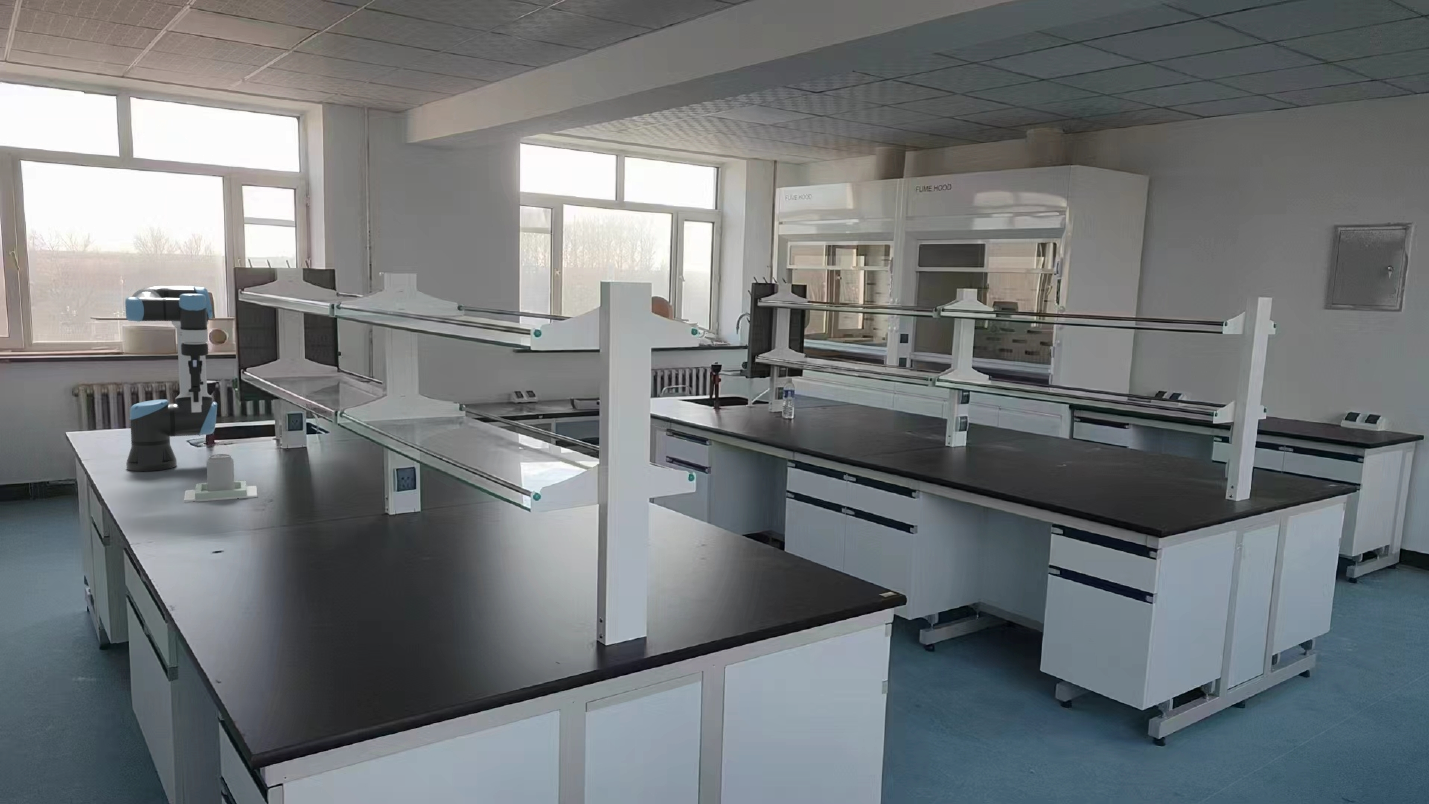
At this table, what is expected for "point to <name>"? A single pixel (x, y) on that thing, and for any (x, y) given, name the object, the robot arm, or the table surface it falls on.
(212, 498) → the green and white tray
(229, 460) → the can
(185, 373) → the robot arm
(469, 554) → the table surface
